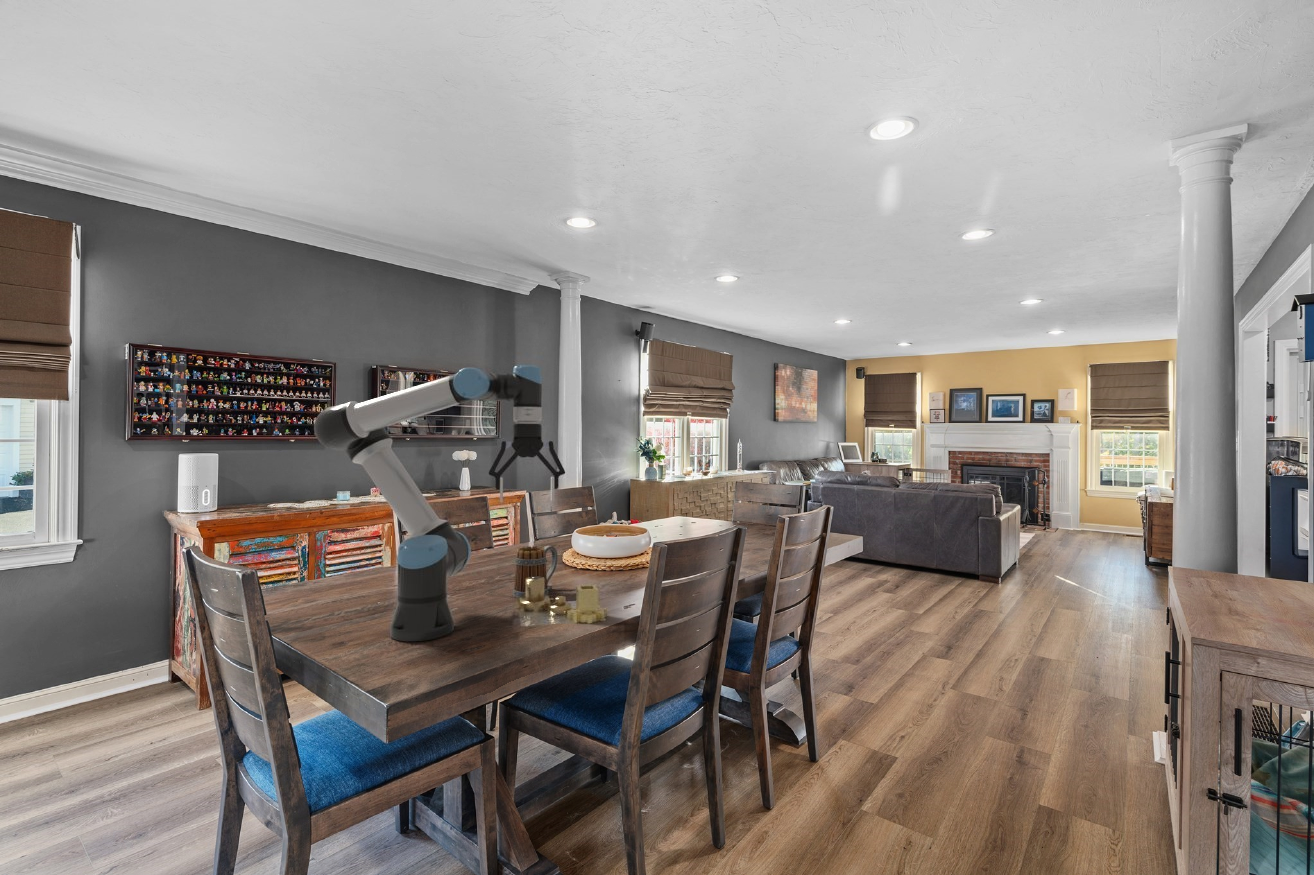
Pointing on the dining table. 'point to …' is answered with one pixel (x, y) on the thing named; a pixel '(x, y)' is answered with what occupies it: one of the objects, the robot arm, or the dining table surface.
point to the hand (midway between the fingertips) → (527, 501)
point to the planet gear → (587, 606)
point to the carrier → (542, 605)
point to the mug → (533, 567)
